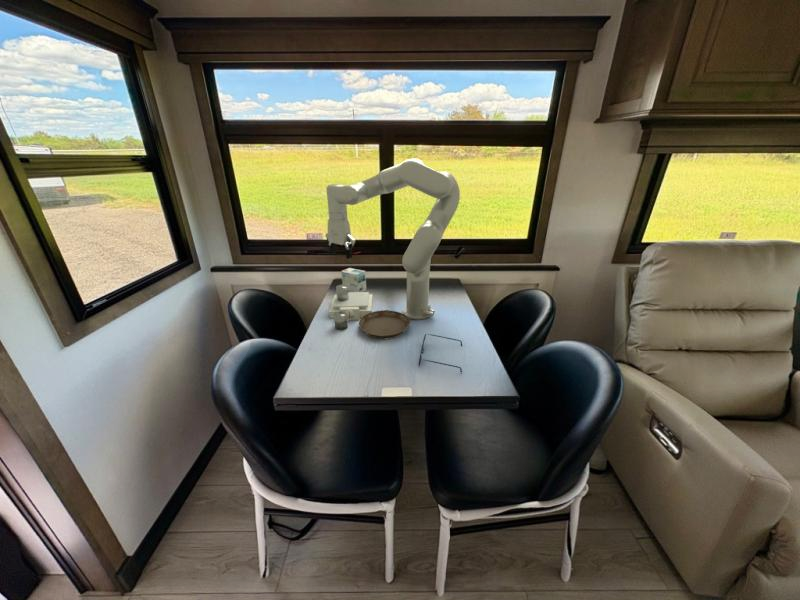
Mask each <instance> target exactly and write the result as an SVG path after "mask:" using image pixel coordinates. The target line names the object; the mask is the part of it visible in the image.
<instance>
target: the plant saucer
mask: <svg viewBox="0 0 800 600" xmlns="http://www.w3.org/2000/svg"><path fill="white" fill-rule="evenodd" d="M358 321H359V322H358V326H359V328H360V329H361V331H362V332H363V333H364V334H366V335H367V336H368V337H371V338H375V339H380V338H381V340H382V339H383V340H384V339H385V338H388V339H393V338H396V337H399V336H400V335H402V334H403V333H405V331H407V330H408V329H409V327H410V324H411V319H410V318H408V317H407V316H406V315H404V314H403V312H400V311H395V310H390V309H389V310H382V309H381V310H376V311H372V312H371V313H369V314H366V315H365V316H363V317H360V319H359V320H358ZM385 340H386V339H385Z"/></svg>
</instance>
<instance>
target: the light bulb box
mask: <svg viewBox="0 0 800 600" xmlns="http://www.w3.org/2000/svg"><path fill="white" fill-rule="evenodd" d="M366 279H367V277H366V270H362V269H356V268H352V267H348V268H346V269H343V270H341V281H342V284H344V285H347V286H348V292H367V280H366Z"/></svg>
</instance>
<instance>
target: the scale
mask: <svg viewBox="0 0 800 600" xmlns="http://www.w3.org/2000/svg"><path fill="white" fill-rule="evenodd" d="M348 295H349V299H348V300H347V301H338V300H337V294H334V297H333V298H332V302H331V304H330V308H329V311H328V314H329V318H330V319H334V314H335V313H336V312H346V313H347V321H360V319H361V318H362V317H363V316H365V315H366V314H369V313H371V312H373V300H374V299H373V298H374V297H373V293H370V291H364V292H348Z"/></svg>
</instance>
